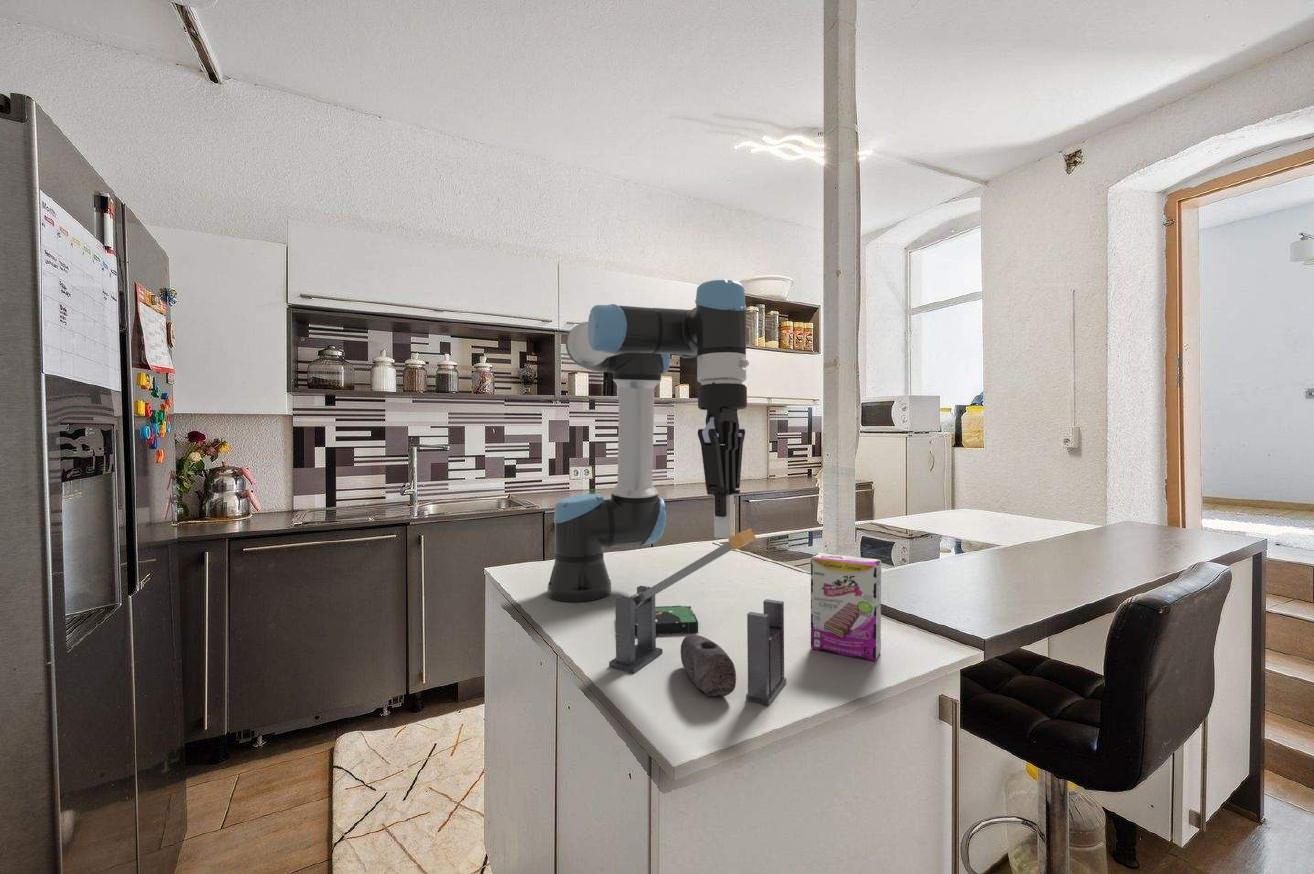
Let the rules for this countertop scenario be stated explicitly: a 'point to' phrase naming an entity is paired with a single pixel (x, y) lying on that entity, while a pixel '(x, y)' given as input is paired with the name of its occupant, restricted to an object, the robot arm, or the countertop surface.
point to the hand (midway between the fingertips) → (724, 536)
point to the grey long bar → (695, 566)
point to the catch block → (765, 652)
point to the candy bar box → (846, 605)
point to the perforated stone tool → (708, 665)
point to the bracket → (626, 650)
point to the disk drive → (673, 620)
